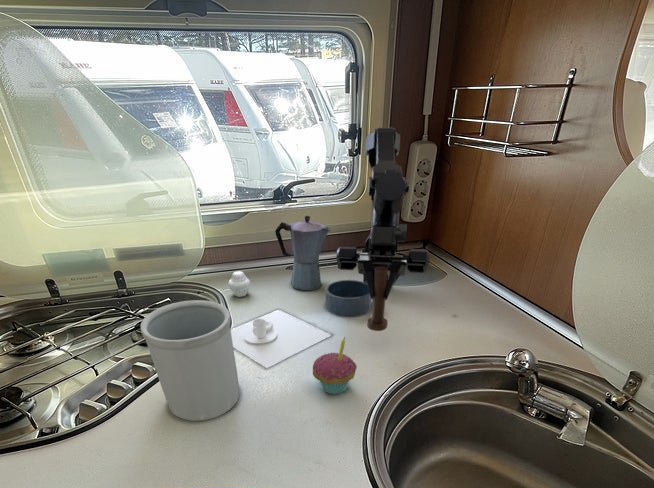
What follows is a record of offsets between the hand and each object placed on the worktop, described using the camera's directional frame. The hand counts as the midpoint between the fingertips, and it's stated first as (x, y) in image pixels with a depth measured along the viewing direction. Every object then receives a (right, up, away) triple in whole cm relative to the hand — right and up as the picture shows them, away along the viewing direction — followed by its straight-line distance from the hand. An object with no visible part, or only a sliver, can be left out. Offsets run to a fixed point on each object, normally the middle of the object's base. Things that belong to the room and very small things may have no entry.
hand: (378, 298), depth 87 cm
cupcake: (-9, -18, -2) cm, 21 cm away
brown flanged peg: (0, -5, +5) cm, 7 cm away
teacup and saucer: (-23, -6, +15) cm, 29 cm away
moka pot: (-17, +12, +39) cm, 45 cm away
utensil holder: (-35, -21, -5) cm, 41 cm away
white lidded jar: (-35, +8, +35) cm, 50 cm away
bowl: (-4, +4, +27) cm, 28 cm away
